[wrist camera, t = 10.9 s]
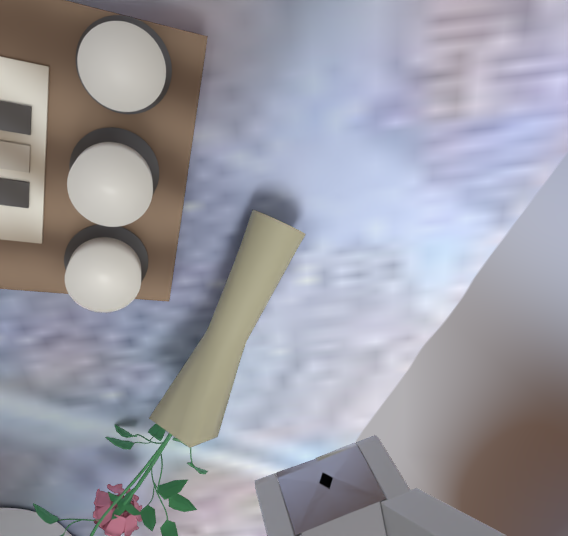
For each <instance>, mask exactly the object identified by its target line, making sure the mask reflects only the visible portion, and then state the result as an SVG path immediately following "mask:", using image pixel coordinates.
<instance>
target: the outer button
mask: <svg viewBox="0 0 568 536" xmlns="http://www.w3.org/2000/svg"><path fill="white" fill-rule="evenodd" d="M77 65H78V71H79V75H80V78H81V80H82V83H83V84H84V86H85V88H86V89H87V91H88V92H89V93H90V94H91V96H92V97H93V98H94V99H96V100H97V101H98V102H99V103H101V104H102V105H104V106H106V107H108V108H110V109H113V110H116V111H121V112H133V111H138V110H141V109H144V108H146V107H147V106H149V105H150V104H152V103H153V102H154V101H155V100H156V99H157V98H158V96H159V95H160V93H161V91H162V89H163V87H164V84H165V79H166V65H165V60H164V57H163V54H162V52H161V49H160V48H159V46H158V44H157V43H156V42H155V40H154V39H153V38H152V37H151V36H150V35H149V34H148V33H147V32H146V31H144V30H143V29H141V28H140V27H138V26H136V25H134V24H131V23H128V22H124V21H108V22H104V23H102V24H99V25H97V26H96V27H94V28H93V29H91V30H90V31H89V32H88V33H87V34H86V36H85V37H84V39H83V40H82V42H81V44H80V47H79V51H78V57H77Z"/></svg>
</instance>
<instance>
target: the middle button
mask: <svg viewBox="0 0 568 536" xmlns="http://www.w3.org/2000/svg"><path fill="white" fill-rule="evenodd" d="M67 189H68V194H69V198H70V200H71V202H72V204H73V205H74V207H75V208H76V210H77V211H78V212H79V213H80V214H81V215H82V216H84V217H85V218H86V219H88V220H89V221H91V222H93V223H96V224H99V225H102V226H107V227H119V226H124V225H127V224H130V223H132V222H134V221H136V220H137V219H139V218H140V217H141V216H142V215H143V214H144V213H145V212H146V210H147V209H148V207H149V205H150V203H151V200H152V195H153V181H152V174H151V171H150V168H149V166H148V164H147V162H146V161H145V160H144V158H143V157H142V156H141V155H140V154H139V153H138V152H137V151H135V150H134V149H132V148H130V147H129V146H126V145H124V144H121V143H116V142H102V143H98V144H95V145H92V146H90V147H88V148H87V149H85V150H84V151H83V152H82V153H81V154H80V155H79V156H78V158H77V159H76V161H75V162H74V164H73V165H72V167H71V169H70V171H69V174H68V179H67Z"/></svg>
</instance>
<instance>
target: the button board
mask: <svg viewBox="0 0 568 536" xmlns="http://www.w3.org/2000/svg"><path fill="white" fill-rule="evenodd" d="M108 21H124V22H128V23H131V24H134V25H136V26H138V27H140V28H141V29H143V30H144V31H146V32H147V33H148V34H149V35H150V36H151V37H152V38H153V39H154V40H155V42H156V43H157V44H158V46H159V48H160V49H161V52H162V54H163V57H164V60H165V65H166V79H165V84H164V87H163V89H162V91H161V93H160V95H159V96H158V98H157V99H156V100H155V101H154V102H153V103H152V104H150V105H149V106H147V107H146V108H144V109H141V110H138V111H133V112H121V111H116V110H113V109H110V108H108V107H106V106H104V105H102V104H101V103H99V102H98V101H97V100H96V99H94V98H93V97H92V96H91V94H90V93H89V92H88V91H87V89H86V88H85V86H84V84H83V83H82V80H81V78H80V75H79V71H78V65H77V57H78V51H79V47H80V44H81V42H82V40H83V39H84V37H85V36H86V34H87V33H88V32H89V31H90V30H91V29H93V28H94V27H96V26H97V25H99V24H102V23H104V22H108ZM207 37H208V36H204V35H200V34H196V33H192V32H188V31H184V30H180V29H176V28H172V27H168V26H164V25H160V24H156V23H152V22H149V21H145V20H141V19H137V18H133V17H130V16H125V15H121V14H117V13H113V12H109V11H105V10H101V9H97V8H93V7H89V6H85V5H81V4H77V3H74V2H70V1H66V0H0V289H12V290H25V291H38V292H51V293H65V294H69V293H68V292H67V289H66V286H65V272H66V269H67V266H68V264H69V261H70V258H71V256H72V254H73V252H74V251H75V250H76V249H77V248H78V247H79V246H80V245H81V244H83V243H84V242H86V241H88V240H91V239H94V238H99V237H109V238H114V239H118V240H120V241H122V242H124V243H126V244H127V245H129V246H130V247H131V248H132V249H133V250H134V251H135V252H136V254H137V255H138V257H139V260H140V263H141V286H140V290H139V292H138V294H137V296H136V297H135V299H144V300H158V301H169V299H170V292H171V285H172V278H173V272H174V265H175V258H176V251H177V244H178V237H179V230H180V223H181V216H182V209H183V203H184V196H185V189H186V182H187V175H188V168H189V161H190V154H191V147H192V140H193V134H194V127H195V120H196V113H197V106H198V99H199V92H200V85H201V78H202V71H203V64H204V58H205V51H206V44H207ZM102 142H116V143H121V144H124V145H126V146H129V147H130V148H132V149H134V150H135V151H137V152H138V153H139V154H140V155H141V156H142V157H143V158H144V160H145V161H146V162H147V164H148V166H149V168H150V171H151V174H152V181H153V195H152V200H151V203H150V205H149V207H148V209H147V210H146V212H145V213H144V214H143V215H142V216H141V217H140V218H139V219H137V220H136V221H134V222H132V223H130V224H127V225H124V226H119V227H107V226H102V225H99V224H96V223H93V222H91V221H89V220H88V219H86V218H85V217H84V216H82V215H81V214H80V213H79V212H78V211H77V210H76V208H75V207H74V205H73V204H72V202H71V200H70V198H69V194H68V189H67V179H68V174H69V171H70V169H71V167H72V165H73V164H74V162H75V161H76V159H77V158H78V156H79V155H80V154H81V153H82V152H83V151H84V150H85V149H87V148H88V147H90V146H92V145H95V144H98V143H102Z"/></svg>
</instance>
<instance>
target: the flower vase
mask: <svg viewBox="0 0 568 536" xmlns="http://www.w3.org/2000/svg"><path fill="white" fill-rule="evenodd" d="M304 236H305V234H304V233H303V232H301V231H299V230H297V229H295V228H293V227H291V226H289V225H287V224H285V223H283V222H281V221H279V220H277V219H274V218H272V217H270V216H268V215H265V214H263V213H261V212H258V211H255V210H252V213H251V216H250V219H249V222H248V225H247V228H246V231H245V234H244V237H243V239H242V242H241V245H240V248H239V251H238V253H237V256H236V259H235V261H234V264H233V266H232V269H231V271H230V274H229V276H228V279H227V281H226V284H225V287H224V289H223V292H222V294H221V297H220V299H219V302H218V304H217V307H216V309H215V312H214V314H213V317H212V319H211V322H210V324H209V327H208V329H207V330H206V332H205V334H204V336H203V337H202V339H201V340H200V342H199V343H198V345H197V346H196V348H195V349H194V351H193V352H192V354H191V355H190V357H189V358H188V360H187V361H186V363H185V364H184V366H183V367H182V369H181V370H180V372H179V374H178V375H177V377H176V378H175V380H174V381H173V383H172V384H171V386H170V387H169V389H168V390H167V392H166V393H165V395H164V396H163V398H162V399H161V401H160V402H159V404H158V405H157V407H156V408H155V410H154V411H153V413H152V414H151V416H150V417H149V419H151V420H152V421H154V422H155V423H156V424H155V425H154V426H153V427H152V428H151V429H150V430H149V431H148V433H150V434H151V435H152V436H153V437H155V438H156V439H158V440H159V441H161V440H162V438H163V436H164V433H165V430H166V431H167V432H169V434H168V436H167V437H166V439H165V440H164V442H161V443H162V444H161V443H156V442H152V441H150V440H151V439H152V438H153V437H152V438H151V439H150V440H148V439H146V438H145V437H143V436H141V435H139V434H137V435H139V436H141V437H143V438H145V439H146V440H148V441H150V442H149V443H151V442H152V443H156V444H161V446H160V447H159V449H158V450H157V451H156V452H155V454H154V455H153V456H152V458H151V459H150V460H149V461H148V463H147V464H146V465H145V466H144V468H143V469H142V470H141V471H140V473H139V474H138V475H137V476H136V477H135V478H134V480H133V481H132V482H131V483H130V484H129V485H128V487H127V488H126V489H125V490H124V489H123V488H122V484H117V485H115V486H111V485H110V484H108V485H107V488H108V489H109V490H111V491H112V492H114V493H118V495H114V494H112V493H110V492H108V493H106V492H104V491H100V490H99V489H98V490H97V492H96V498H95V501H94V504H95V511H94V512H93V518H95V520H88V519H61V520H78V521H81V520H87V521H94V523H95V524H96V525H95V527H94V529H93V531H92V532H91V534H90V536H93V535H94V533H95V531H96V529H97V527H98V526H99V527H100V528H102V529H103V530H104V531H105V534H106V535H108V536H120V535H121V534H122V533H125V536H130V535H131V533H132V532H133V531H134V530H137V529H139V527H138V526H137V521H138V522H141V521H142V520H143V523H144V525H145V526H146V527H148V528H149V529H150V530H151V531H153V528H154V526H155V523H156V518H155V509H153V508H152V507H150V506H149V504H150V503H149V504H148V505H147V506H146V507H145V508H143V509H142V506H141V505H140V506H139V505H138V503H137V500H138V499H139V497H138V496H136V495H134V493H135V492H136V491H137V489H138V488H139V487H140V485H141V484H142V482H143V481H144V479H145V478H146V476H147V475H148V473H149V472H150V470H151V474H152V467H153V466H154V464H155V462H156V461H157V459H158V458H159V456H160V454H161V453H162V451H163V449H164V448H165V446H166V444H167V443H168V441H169V440H170V438H171V436H172V435H173V436H174V437H176V438H173V440H175V441H178V442H181V443H183V444H184V445H186V446H188V447H193V446H195V445H198V444H200V443H203V442H206V441H208V440H211V439H213V438H216V437H218V434H219V430H220V427H221V423H222V420H223V417H224V413H225V410H226V406H227V403H228V400H229V396H230V393H231V390H232V386H233V383H234V379H235V376H236V373H237V369H238V366H239V362H240V359H241V356H242V352H243V350H244V347H245V344H246V341H247V339H248V337H249V336H250V334H251V332H252V330H253V328H254V327H255V325H256V323H257V321H258V319H259V317H260V316H261V314H262V312H263V310H264V308H265V307H266V305H267V303H268V301H269V299H270V297H271V296H272V294H273V292H274V290H275V288H276V286H277V285H278V283H279V281H280V279H281V277H282V276H283V274H284V272H285V270H286V268H287V266H288V265H289V263H290V261H291V259H292V257H293V256H294V254H295V252H296V250H297V248H298V247H299V245H300V243H301V242H302V240H303V238H304ZM115 428H116V431H117V432H118V433H119V434H120V435H121V436H123V437H126V438H128V437H137V435H132V434H130V433H129V432H127V431H125V430H124V429H122V428H120V427H119V426H117V425H115ZM105 438H107V439H108V440H109V441H110V442H112V443H113V444H114V445H116V446H118V447H120V448H122V449H131V448H132V446H133V445H134V443H133V442H130V441H123V440H119V439H115V438H110V437H105ZM135 443H142V442H135ZM145 444H146V443H145ZM190 456H191V448H190ZM161 462H162V454H161ZM191 462H192V458H191ZM187 464H189V465H190V466H191V467H193V468H195V469H196V470H197V471H198V472H199V473H200V474H206V473H207V472H208V471H206V470H203V469H200V468H197V467H195V466H194V465H193V463H187ZM148 466H149V467H148ZM162 466H163V462H162ZM147 467H148V468H147ZM146 468H147V470H146ZM145 470H146V471H145ZM144 471H145V473H144V474H143V476H142V477H141V479H140V480H139V482H138V483H137V485H136V486H135V488H133V489H132V490H131V491H130V487H131V486H132V485H133V484H134V483H135V482H136V480H137V479H138V478H139V477H140V476H141V474H142V473H143V472H144ZM161 474H162V467H161ZM161 474H160V479H161ZM160 479H159V483H160ZM152 480H153V475H152ZM187 481H188V480H174V481H171V482H168V483H165V484H162V485H159V483H158V487H157V486H156V484H155V483H154V480H153V484H154V487H155V486H156V487H157V490H156V487H155V490H156V492H157V494H158V493H159V494H160V495H161V496H162V497H163V498H164V499H168V498H169V507H171V508H173V509H175V510H179V511H183V512H186V511H193V510H197V509H196V508H195V507H194V506H193V504H192V503H191V502H190V501H189V500H188V499H186V498H184V497H183V496H181V495H179V494H177V493H179V492H180V491H181V490H182V488H183V487H184V485H185V484H186V482H187ZM125 493H127V494H126V495H125V496H124V494H125ZM159 494H158V497H159ZM153 495H154V489H153ZM152 499H153V497H152ZM152 499H151V501H152ZM159 499H160V497H159ZM132 500H133V501H132ZM151 501H150V502H151ZM160 501H161V499H160ZM161 503H162V501H161ZM33 505H34V507H35V510H36V512H37V515H38V516H39V517H40V518H41V519H42V520H43V521H44V522H46V523H48V524H53V523H55V522H57V521H61V520H59V519H58V517H57V516H54V515H52V514H50V513H49V512H48V511H46V510H45V509H43V508H42V507H40V506H38V505H36V504H34V503H33ZM162 505H163V503H162ZM163 507H164V505H163ZM141 509H142V510H141ZM164 509H165V507H164ZM165 512H166V509H165ZM166 515H167V512H166ZM136 519H137V520H136ZM78 521H75V522H78ZM75 522H73V523H75ZM73 523H71V524H73ZM71 524H69V525H68V526H67V528H68V527H69V526H70V525H71ZM67 528H66V529H65V532H66V530H67ZM160 529H161V533H162V536H178V533H177V529H176V525H175V523H174V522H172V521H169V520H168V516H167V520H166V521H165V523H164V524H163V525H162V527H161V528H160ZM65 532H64V533H63V534H62V535H60V536H64V534H65Z"/></svg>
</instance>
